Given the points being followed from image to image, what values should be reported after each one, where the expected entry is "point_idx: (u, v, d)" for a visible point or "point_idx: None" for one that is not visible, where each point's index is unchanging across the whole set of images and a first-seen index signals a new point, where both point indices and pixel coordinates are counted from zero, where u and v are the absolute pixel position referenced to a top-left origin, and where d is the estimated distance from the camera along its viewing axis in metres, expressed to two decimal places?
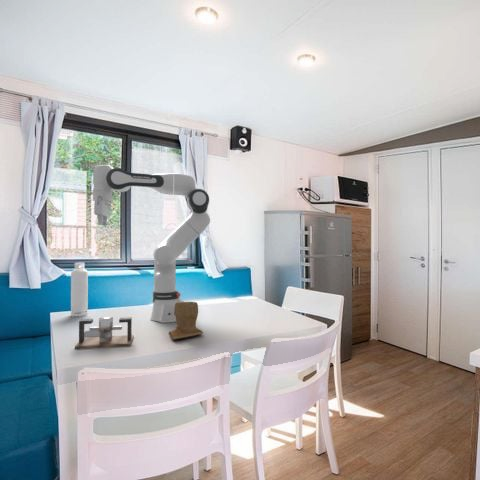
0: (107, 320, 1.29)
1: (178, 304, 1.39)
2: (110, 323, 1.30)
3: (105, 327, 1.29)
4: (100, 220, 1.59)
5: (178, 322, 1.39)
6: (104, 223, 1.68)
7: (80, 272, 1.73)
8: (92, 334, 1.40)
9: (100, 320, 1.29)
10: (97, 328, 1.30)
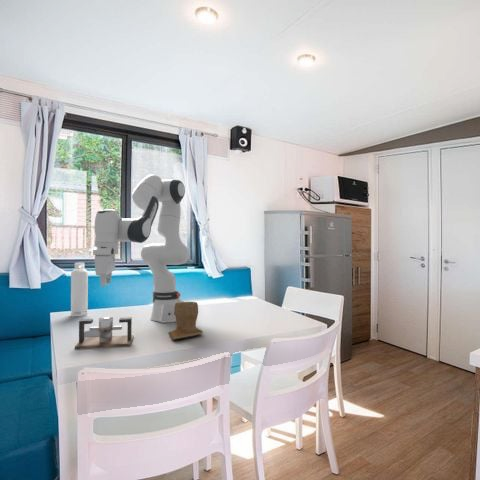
0: (107, 320, 1.29)
1: (178, 304, 1.39)
2: (110, 323, 1.30)
3: (105, 327, 1.29)
4: None
5: (178, 322, 1.39)
6: None
7: (80, 272, 1.73)
8: (92, 334, 1.40)
9: (100, 320, 1.29)
10: (97, 328, 1.30)
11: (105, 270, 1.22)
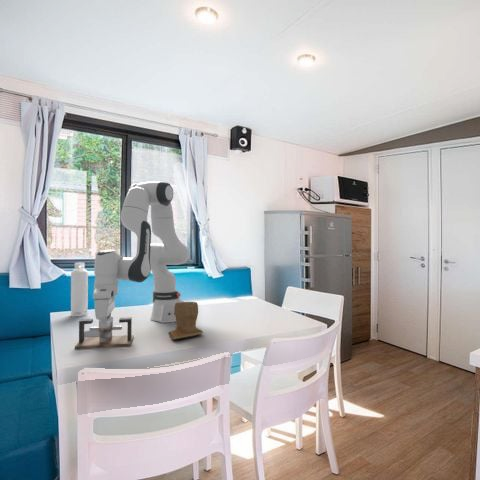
0: (107, 320, 1.29)
1: (178, 304, 1.39)
2: (110, 323, 1.30)
3: None
4: None
5: (178, 322, 1.39)
6: None
7: (80, 272, 1.73)
8: (92, 334, 1.40)
9: (100, 320, 1.29)
10: (97, 328, 1.30)
11: (105, 314, 1.22)
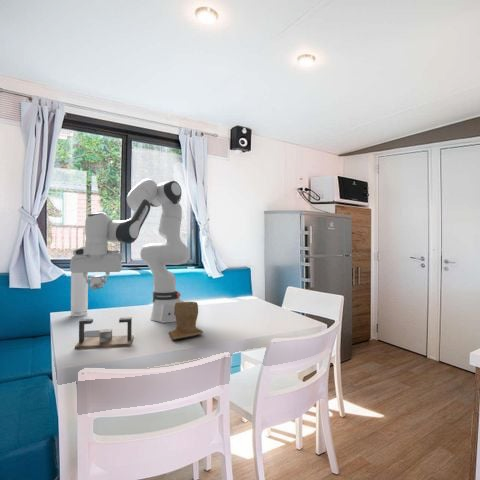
0: (90, 277, 1.38)
1: (178, 304, 1.39)
2: (91, 281, 1.38)
3: None
4: (107, 277, 1.41)
5: (178, 322, 1.39)
6: None
7: None
8: (92, 334, 1.40)
9: None
10: None
11: (70, 268, 1.36)
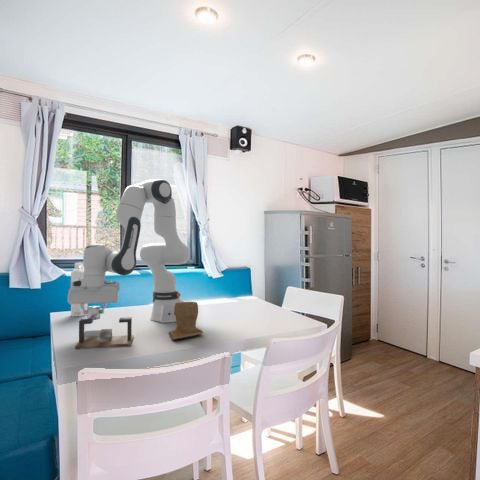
0: (87, 308, 1.40)
1: (178, 304, 1.39)
2: (88, 312, 1.39)
3: (87, 315, 1.40)
4: (104, 308, 1.42)
5: (178, 322, 1.39)
6: None
7: (80, 272, 1.73)
8: (92, 334, 1.40)
9: None
10: None
11: None
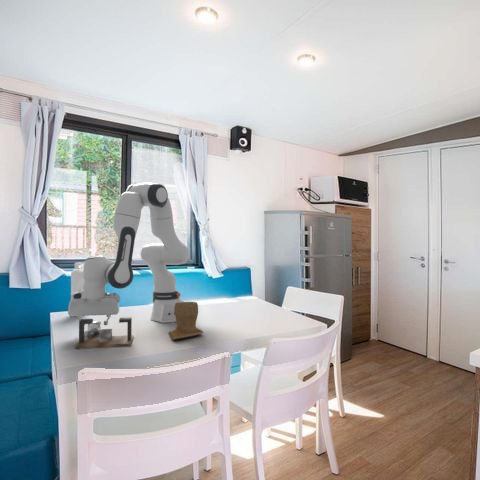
0: None
1: (178, 304, 1.39)
2: (89, 327, 1.39)
3: None
4: (108, 319, 1.43)
5: (178, 322, 1.39)
6: None
7: (80, 272, 1.73)
8: None
9: None
10: None
11: (68, 311, 1.38)
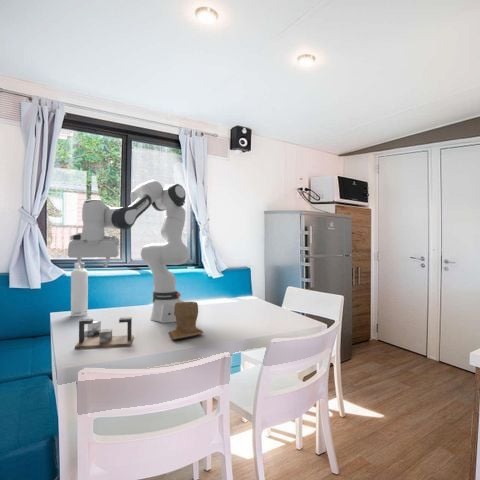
0: None
1: (178, 304, 1.39)
2: (89, 327, 1.39)
3: None
4: (107, 262, 1.45)
5: (178, 322, 1.39)
6: None
7: (80, 272, 1.73)
8: None
9: None
10: None
11: (68, 253, 1.40)
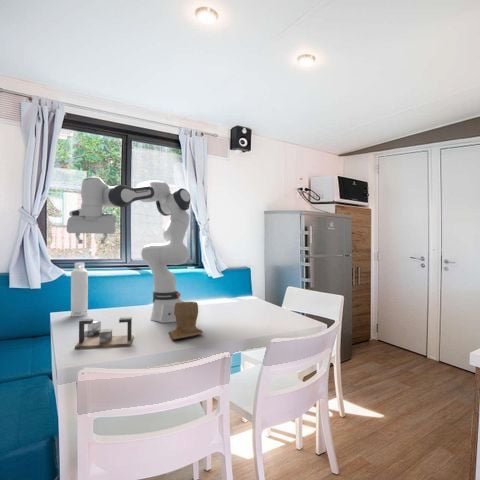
0: None
1: (178, 304, 1.39)
2: (89, 327, 1.39)
3: None
4: None
5: (178, 322, 1.39)
6: None
7: (80, 272, 1.73)
8: None
9: None
10: None
11: None
